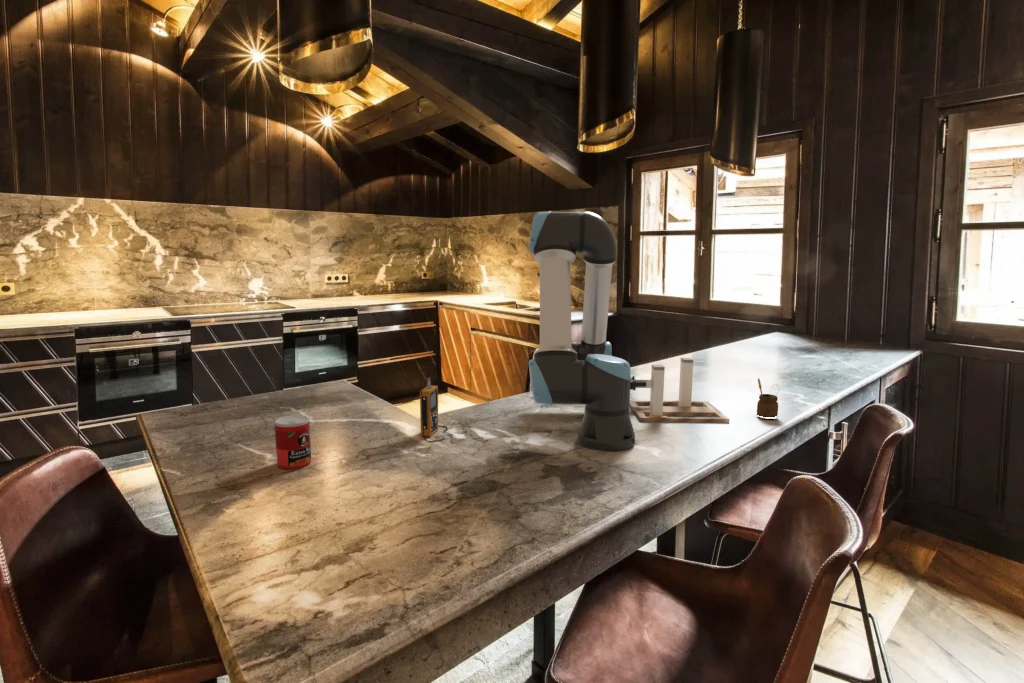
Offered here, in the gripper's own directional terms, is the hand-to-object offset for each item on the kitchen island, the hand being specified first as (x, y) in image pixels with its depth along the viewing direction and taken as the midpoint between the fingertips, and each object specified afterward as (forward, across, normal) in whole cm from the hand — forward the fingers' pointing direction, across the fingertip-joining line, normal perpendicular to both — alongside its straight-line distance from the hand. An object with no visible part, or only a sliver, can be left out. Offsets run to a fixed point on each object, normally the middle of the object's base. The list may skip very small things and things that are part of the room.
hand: (655, 383), depth 183 cm
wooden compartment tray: (+5, +6, -9) cm, 12 cm away
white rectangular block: (-2, +12, -8) cm, 14 cm away
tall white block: (+10, 0, -8) cm, 12 cm away
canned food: (-96, +50, -10) cm, 109 cm away
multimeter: (-65, +26, -10) cm, 70 cm away
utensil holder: (+33, +6, -9) cm, 35 cm away
